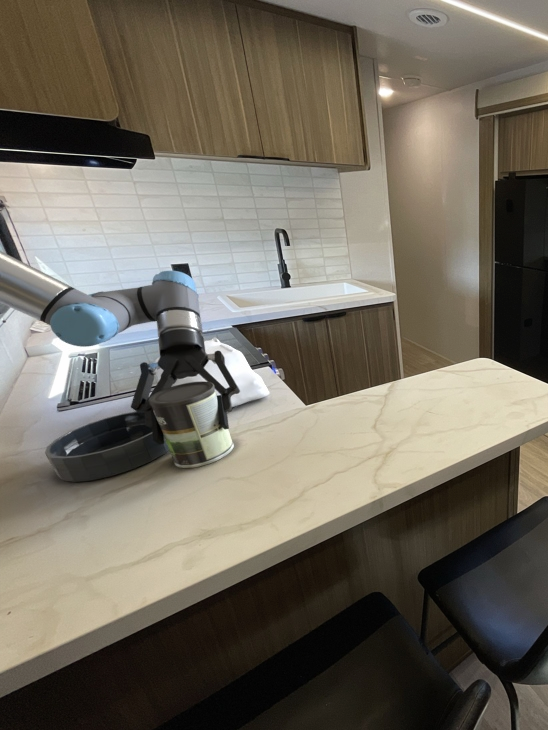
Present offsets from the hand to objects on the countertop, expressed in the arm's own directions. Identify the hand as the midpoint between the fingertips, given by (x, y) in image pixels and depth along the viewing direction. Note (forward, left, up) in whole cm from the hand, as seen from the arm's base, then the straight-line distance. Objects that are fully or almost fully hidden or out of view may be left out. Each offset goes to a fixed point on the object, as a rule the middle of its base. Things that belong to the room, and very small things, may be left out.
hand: (192, 434), depth 77 cm
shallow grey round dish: (-19, +6, -6) cm, 21 cm away
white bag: (-16, +34, -6) cm, 38 cm away
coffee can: (-1, +3, -6) cm, 7 cm away
